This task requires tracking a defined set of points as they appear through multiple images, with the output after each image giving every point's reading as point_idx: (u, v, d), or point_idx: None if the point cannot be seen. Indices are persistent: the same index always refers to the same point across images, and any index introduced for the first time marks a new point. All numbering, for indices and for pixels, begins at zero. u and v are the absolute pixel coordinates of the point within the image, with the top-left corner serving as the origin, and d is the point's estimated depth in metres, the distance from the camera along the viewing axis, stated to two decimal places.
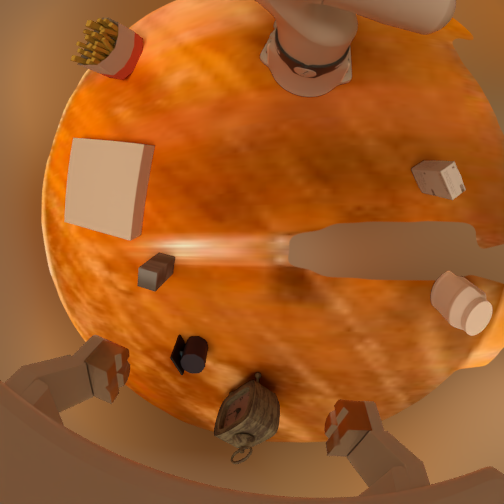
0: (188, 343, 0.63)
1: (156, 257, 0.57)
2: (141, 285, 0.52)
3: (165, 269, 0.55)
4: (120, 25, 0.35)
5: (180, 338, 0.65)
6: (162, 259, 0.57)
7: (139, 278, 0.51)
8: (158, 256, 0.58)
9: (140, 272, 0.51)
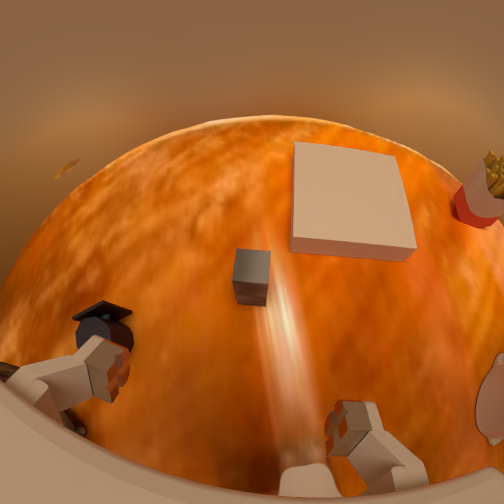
0: (123, 329, 0.35)
1: None
2: (238, 255, 0.32)
3: (258, 294, 0.35)
4: None
5: (127, 313, 0.38)
6: None
7: (251, 252, 0.33)
8: None
9: (262, 254, 0.32)
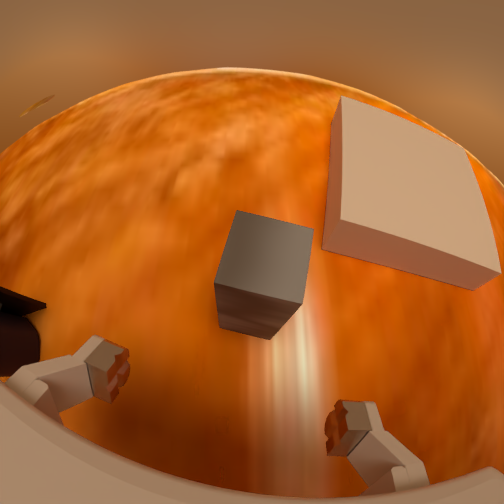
0: (19, 332, 0.15)
1: None
2: (238, 226, 0.14)
3: (266, 321, 0.16)
4: None
5: (36, 307, 0.19)
6: None
7: (269, 223, 0.14)
8: None
9: (295, 231, 0.14)
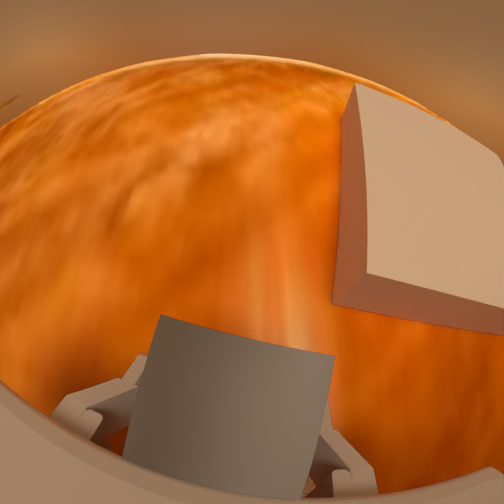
0: None
1: None
2: (161, 356, 0.05)
3: None
4: None
5: None
6: None
7: (232, 348, 0.06)
8: None
9: (292, 368, 0.06)
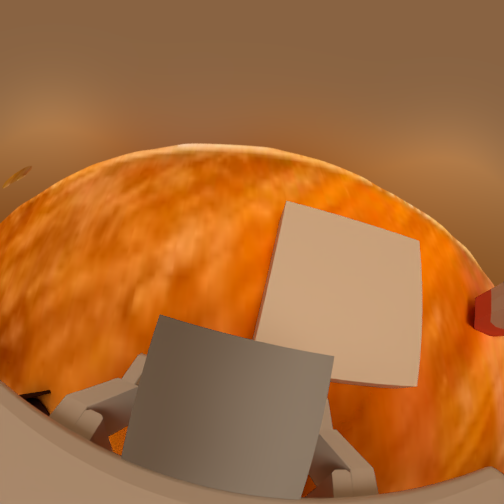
0: None
1: None
2: (160, 356, 0.05)
3: None
4: None
5: (43, 394, 0.24)
6: None
7: (231, 349, 0.06)
8: None
9: (292, 368, 0.06)
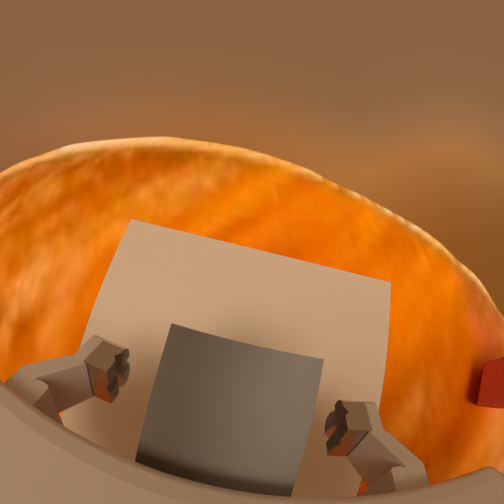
0: None
1: None
2: (173, 359, 0.06)
3: None
4: None
5: None
6: None
7: (234, 352, 0.07)
8: None
9: (286, 369, 0.06)
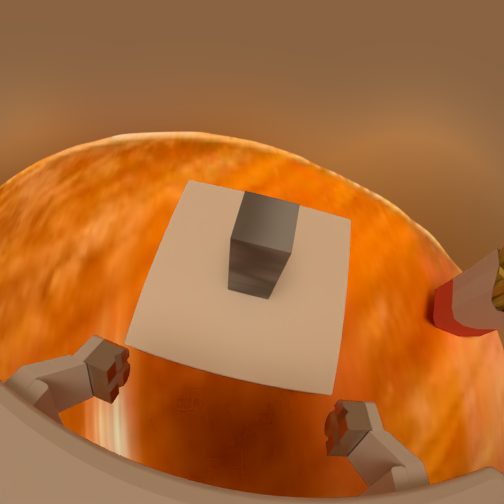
0: None
1: None
2: (246, 201, 0.19)
3: (265, 276, 0.22)
4: None
5: None
6: None
7: (267, 199, 0.19)
8: None
9: (286, 206, 0.19)
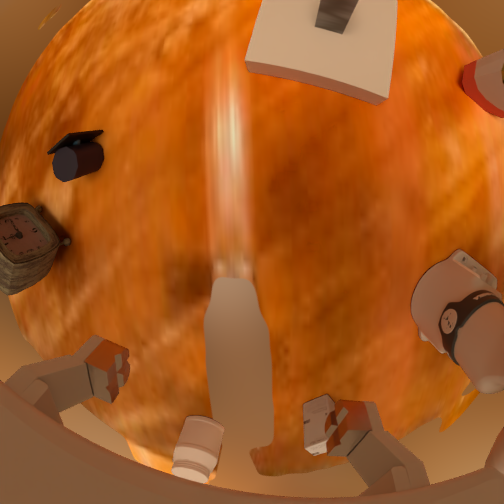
0: (92, 149, 0.37)
1: None
2: None
3: (342, 14, 0.23)
4: None
5: (98, 133, 0.39)
6: None
7: None
8: None
9: None
